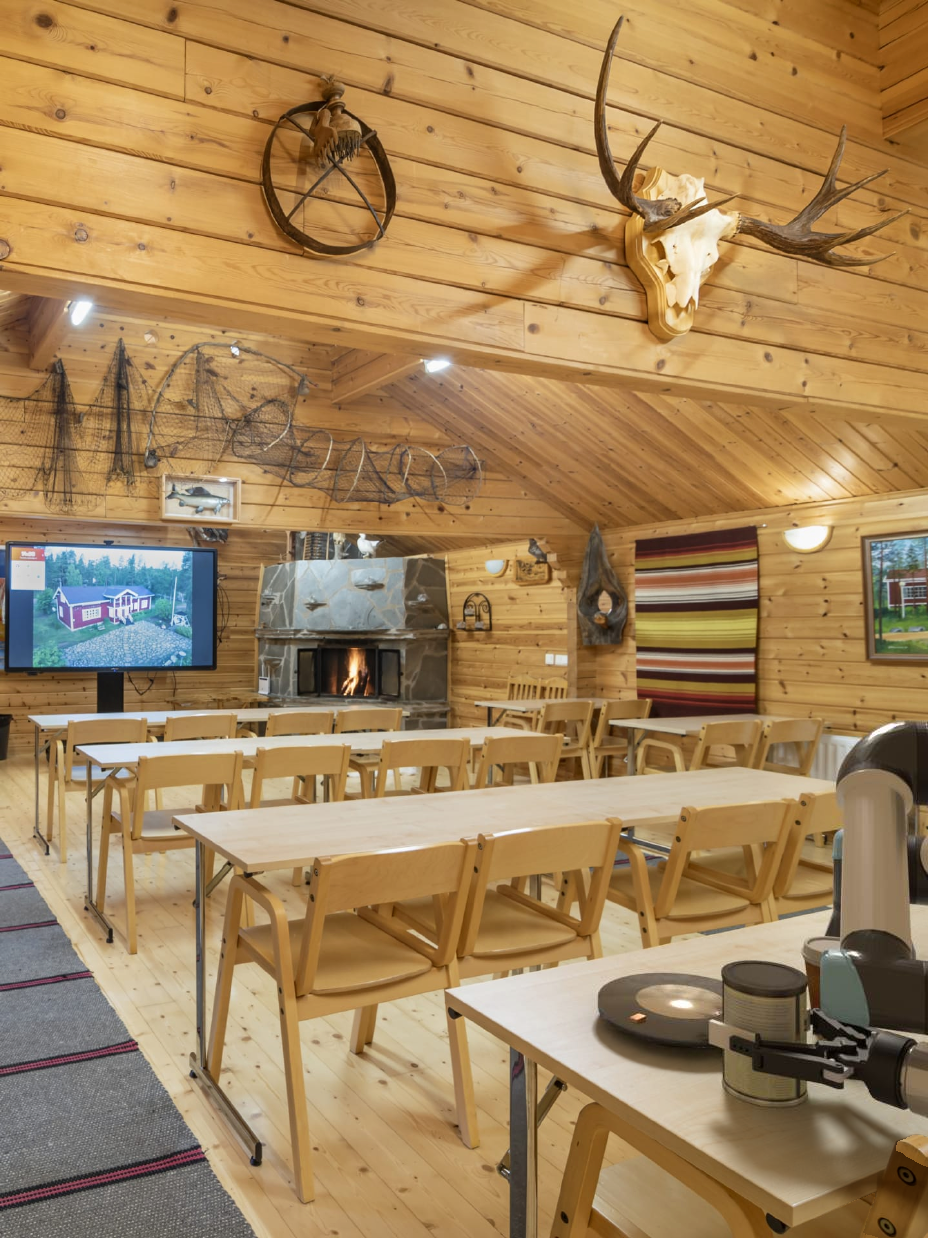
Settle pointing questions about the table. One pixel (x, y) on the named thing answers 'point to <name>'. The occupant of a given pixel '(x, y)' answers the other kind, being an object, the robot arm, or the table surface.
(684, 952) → the table surface
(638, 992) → the turntable platter
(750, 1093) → the coffee can
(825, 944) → the disposable coffee cup
